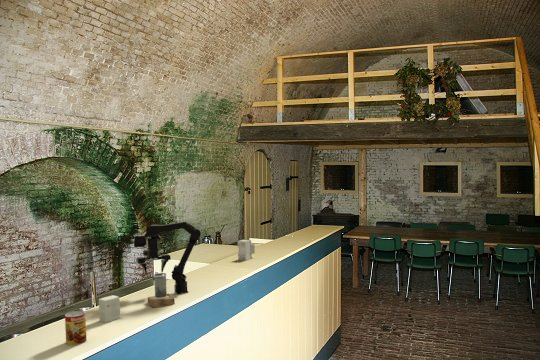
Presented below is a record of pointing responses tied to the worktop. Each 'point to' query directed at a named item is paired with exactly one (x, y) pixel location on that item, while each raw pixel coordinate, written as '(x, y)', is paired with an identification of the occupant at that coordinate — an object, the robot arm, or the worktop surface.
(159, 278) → the cylinder
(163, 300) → the stand
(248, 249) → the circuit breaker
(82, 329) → the canned food
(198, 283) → the worktop surface
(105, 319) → the small box
